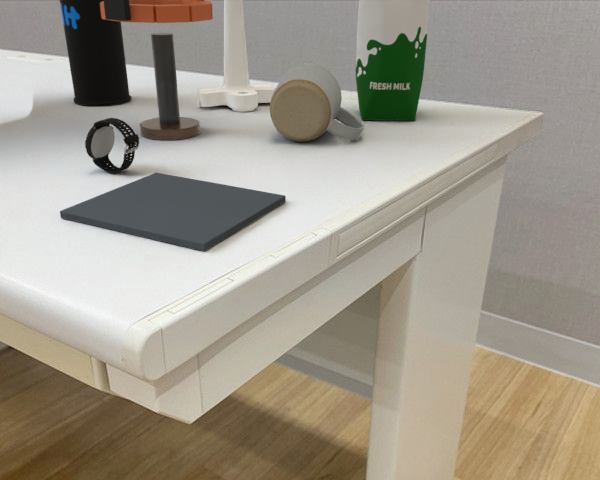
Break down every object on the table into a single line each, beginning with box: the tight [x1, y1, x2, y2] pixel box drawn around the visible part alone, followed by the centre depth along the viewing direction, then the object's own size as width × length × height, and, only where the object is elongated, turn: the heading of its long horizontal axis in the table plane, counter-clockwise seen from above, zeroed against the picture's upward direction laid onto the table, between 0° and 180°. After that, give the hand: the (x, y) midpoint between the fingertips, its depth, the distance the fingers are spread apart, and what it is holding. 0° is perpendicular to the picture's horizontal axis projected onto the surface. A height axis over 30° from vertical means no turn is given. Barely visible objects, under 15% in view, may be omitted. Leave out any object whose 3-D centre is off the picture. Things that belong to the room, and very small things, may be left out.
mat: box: [59, 172, 287, 252], centre depth 52 cm, size 14×12×1 cm
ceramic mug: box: [269, 62, 365, 143], centre depth 73 cm, size 11×8×8 cm
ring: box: [100, 0, 214, 24], centre depth 70 cm, size 12×12×2 cm
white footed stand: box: [196, 0, 277, 113], centre depth 85 cm, size 11×8×20 cm
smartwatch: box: [84, 117, 140, 175], centre depth 61 cm, size 4×5×5 cm
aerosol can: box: [59, 0, 132, 107], centre depth 88 cm, size 8×8×20 cm
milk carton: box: [355, 0, 431, 122], centre depth 81 cm, size 9×9×20 cm
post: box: [139, 32, 201, 141], centre depth 73 cm, size 7×7×11 cm
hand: (158, 16), depth 70 cm, fingers closed on ring, 12 cm apart
